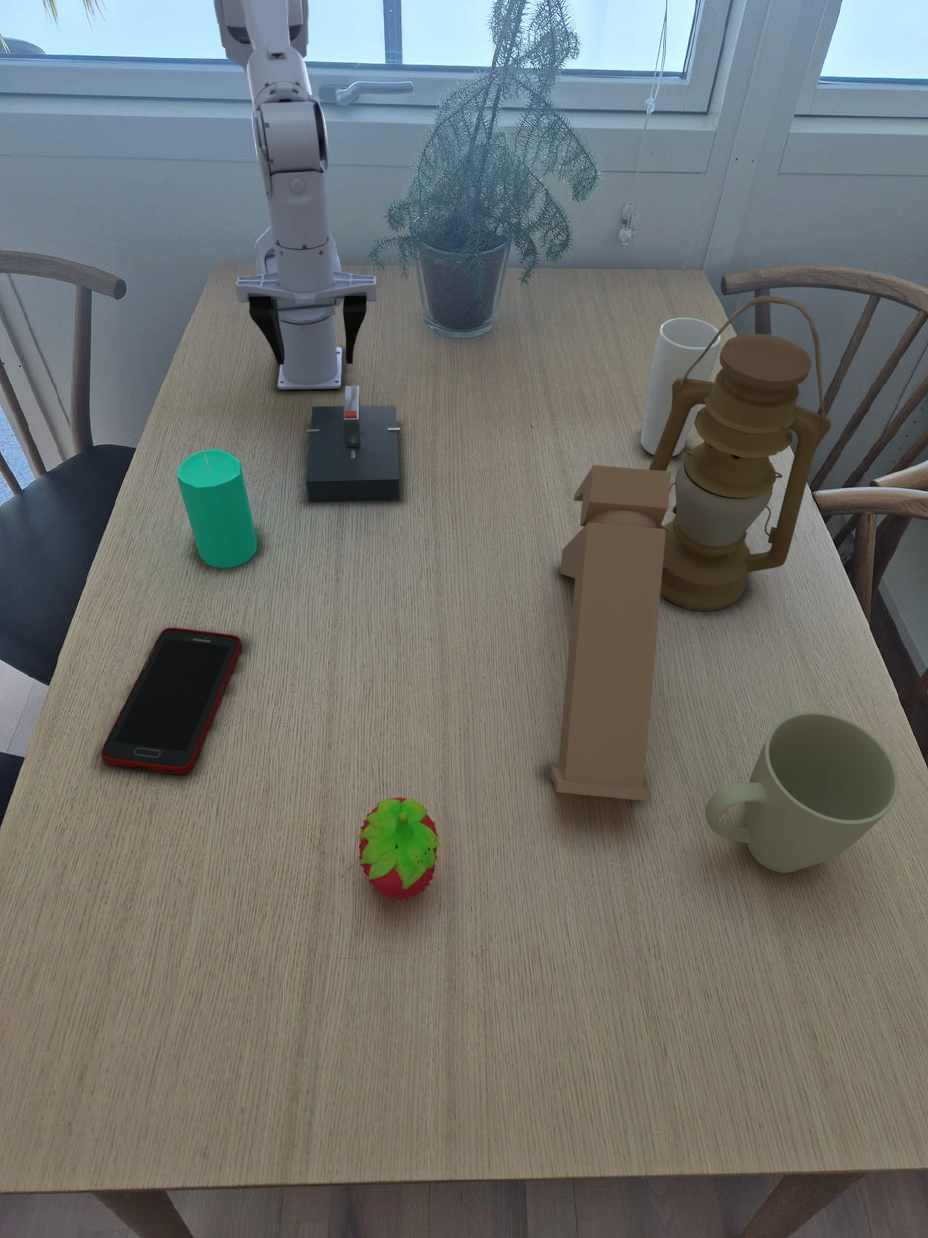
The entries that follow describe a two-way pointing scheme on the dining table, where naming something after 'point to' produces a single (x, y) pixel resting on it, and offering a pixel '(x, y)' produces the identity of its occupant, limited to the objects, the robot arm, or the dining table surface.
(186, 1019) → the dining table surface
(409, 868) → the strawberry
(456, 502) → the dining table surface
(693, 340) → the white cup
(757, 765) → the mug
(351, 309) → the robot arm
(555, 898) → the dining table surface
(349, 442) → the tap handle
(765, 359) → the lantern
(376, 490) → the plate
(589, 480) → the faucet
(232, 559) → the candle
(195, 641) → the cell phone
